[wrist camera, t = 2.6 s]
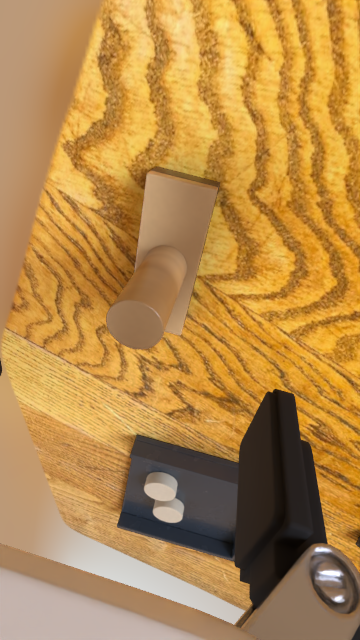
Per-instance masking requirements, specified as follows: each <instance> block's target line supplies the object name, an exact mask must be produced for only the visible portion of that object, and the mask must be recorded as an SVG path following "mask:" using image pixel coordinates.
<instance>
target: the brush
mask: <svg viewBox="0 0 360 640" xmlns="http://www.w3.org/2000/svg"><path fill="white" fill-rule="evenodd" d="M219 186H220V182H217V181H213V180H209V179H205V178H201V177H197V176H193V175H189V174H185V173H181V172H177V171H173V170H169V169H165V168H161V167H155V168H154V169H152V170H151V171H149V172H148V173H147V175H146V183H145V191H144V199H143V207H142V215H141V223H140V230H139V238H138V246H137V254H136V262H135V270H134V274H133V276H132V277H131V278H130V280H129V281H128V283H127V284H126V286H125V287H124V289H123V290H122V292H121V293H120V294H119V296H118V297H117V299H116V300H115V302H114V303H113V305H112V306H111V307H110V309H109V311H108V313H107V317H106V322H107V327H108V329H109V331H110V333H111V335H112V336H113V337H114V338H115V339H116V340H117V341H118V342H120V343H121V344H123V345H125V346H127V347H130V348H133V349H147V348H150V347H153V346H155V345H156V344H157V343H158V342H159V341H160V340H161V338H162V336H163V334H164V331H165V332H168V333H172V334H176V335H181V333H182V330H183V326H184V323H185V320H186V316H187V312H188V308H189V304H190V300H191V296H192V292H193V288H194V284H195V280H196V276H197V272H198V269H199V265H200V261H201V257H202V253H203V249H204V245H205V241H206V237H207V233H208V229H209V225H210V221H211V217H212V213H213V209H214V205H215V201H216V198H217V194H218V190H219Z"/></svg>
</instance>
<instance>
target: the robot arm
mask: <svg viewBox="0 0 360 640" xmlns="http://www.w3.org/2000/svg"><path fill="white" fill-rule="evenodd" d="M1 373H2V366H1V361H0V375H1ZM234 561H235V566H236V567H238V568H240V581H242V582H245V583H248V584H250V599H251V601H252V604H251V605H250V606H249V608H248V609H247V610H246V611H245V613H244V614H243V615H242V616H241V617H240V619H239V620H238V621H237V622H236V623H235V625H233V624H231V623H229V622H226V621H224V620H222V619H219V618H217V617H214V616H212V615H210V614H207V613H205V612H202V611H200V610H197V609H194V608H191V607H188V606H186V605H183V604H180V603H177V602H174V601H171V600H168V599H166V598H163V597H160V596H157V595H154V594H152V593H149V592H146V591H143V590H140V589H137V588H134V587H131V586H128V585H125V584H122V583H119V582H116V581H113V580H110V579H107V578H104V577H101V576H98V575H95V574H92V573H89V572H86V571H83V570H80V569H77V568H74V567H71V566H68V565H65V564H62V563H58V562H55V561H53V560H50V559H47V558H43V557H40V556H37V555H34V554H31V553H28V552H25V551H22V550H19V549H16V548H13V547H10V546H7V545H3V544H1V543H0V640H360V574H359V572H358V570H357V568H356V567H355V566H354V564H353V563H352V562H351V561H350V559H349V558H348V557H347V556H346V555H344V554H343V553H342V552H341V551H340V550H338V549H336V548H335V547H333V546H331V545H328V544H327V538H326V532H325V526H324V520H323V514H322V508H321V502H320V496H319V490H318V484H317V478H316V472H315V466H314V460H313V454H312V449H311V446H310V444H309V443H308V442H306V441H303V440H301V439H300V431H299V424H298V417H297V410H296V402H295V397H294V394H292V393H288V392H285V391H281V390H278V389H275V390H274V391H273V392H267V393H266V395H265V397H264V399H263V401H262V403H261V404H260V406H259V408H258V410H257V412H256V414H255V416H254V418H253V420H252V422H251V424H250V426H249V428H248V430H247V432H246V434H245V436H244V438H243V439H242V442H241V445H240V451H239V471H238V493H237V515H236V536H235V560H234Z"/></svg>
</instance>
